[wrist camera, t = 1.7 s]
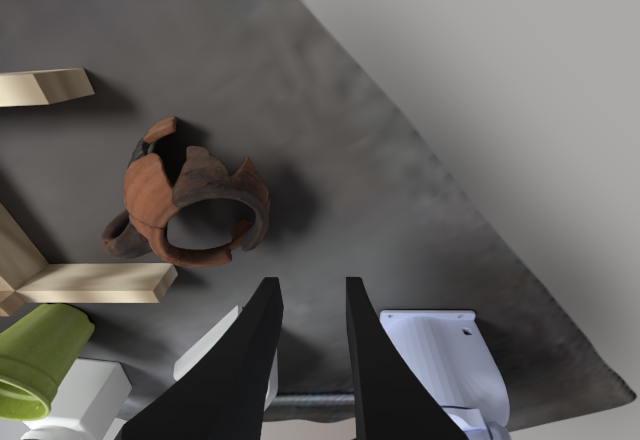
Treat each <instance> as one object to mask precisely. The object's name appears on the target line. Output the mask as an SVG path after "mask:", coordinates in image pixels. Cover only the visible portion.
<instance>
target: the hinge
mask: <svg viewBox="0 0 640 440" xmlns="http://www.w3.org/2000/svg"><path fill="white" fill-rule="evenodd" d="M241 311H242V306H239V305H237V306H236V307H235V308H234V309H233V310H232V311H231V312H230V313H229V314H227V315H226V316H225V317H224V318H223V319H222V320H221V321H220V322H219V323H218V324H217V325H215V326H214V327H213V328H212V329H211V330H210V331H209V332H208V333H207V334H206V335H205V336H203V337H202V338H201V339H200V340H199V341H198V342H197V343H196V344H195V345H194V346H193V347H192V348H190V349H189V350H188V351H187V352H186V353H185V354H184V355H183V356H182V357H181V358H180V359H178V360H177V361H176V362H175V368H174V379H175V380H176V381H178V380H179V379H180V378H181V377H183V376H184V375H185V374H186V373H187V372H188V371H189V370H190V369H191V368H192V367H193V366H194V365H195V364H196V363H197V362H198V361H199V360H200V359H201V358H202V357H203V356H204V355H205V354H206V353H207V352H208V351H209V350H210V349H211V348H212V347H213V346H214V345H215V343H216V342H217V341H218V340H219V339H220V338H221V337H222V335H223V334H224V333H225V332H226V331H227V329H228V328H229V327H230V326H231V324H232V323H233V322H234V321H235V319H236V318H237V317H238V315H239V314H240V313H241ZM277 390H278V371H277V348H276V352H275V356H274V361H273V365H272V369H271V373H270V377H269V382H268V387H267V394H266V400H265V407H264V411H265V410H266V408H267V407H268V406H269V405H270V403H271V402H272V400H273V399H274V397H275V396H276V394H277Z"/></svg>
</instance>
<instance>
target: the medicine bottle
mask: <svg viewBox="0 0 640 440" xmlns="http://www.w3.org/2000/svg"><path fill="white" fill-rule="evenodd" d="M131 390H132V386H131V384H130V382H129V380H128V378H127V376H126V374H125V372H124V370H123V368H122V367H121V365H120V363H119V362H111V361H102V360H93V359H84V358H76V360H75V362H74V363H73V365H72V367H71V368H70V370H69V371H68V373H67V374H66V376H65V378H64V379H63V381H62V382H61V384H60V386H59V387H58V392H57V394H56V396H55V398H54V399H53V401H52V403H51V412H50V413H49V415H48V416H47V417H45V418H43V419H41V420H35V421H23V422H24V423H25V424H26V425H27V426H28V427H30V428H31V429H32V430H31V431H29V432H26V433H25V434H24V435H23V437H22V438H21V439H20V440H102V439H103V438H104V436H105V434H106V432H107V431H108V429H109V427H110V426H111V424H112V422H113V420H114V419H115V417H116V415H117V414H118V412H119V410H120V408H121V407H122V405H123V403H124V402H125V400H126V398H127V396H128V395H129V393H130V391H131Z"/></svg>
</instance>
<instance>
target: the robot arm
mask: <svg viewBox="0 0 640 440" xmlns="http://www.w3.org/2000/svg"><path fill="white" fill-rule="evenodd" d="M283 309H284V306H283V300H282V295H281V290H280V284H279V279H278V277H265V278H264V279H263V280H262V282H261V283H260V285H259V287H258V288H257V290H256V291H255V293H254V294H253V296H252V297H251V299H250V300H249V302H248V303H247V304H246V306H245V307H244V309H243V310H242V311H241V313H240V314H239V315H238V317H237V318H236V319H235V321H234V322H233V323H232V324H231V326H230V327H229V328H228V329H227V331H226V332H225V333H224V334H223V335H222V337H221V338H220V339H219V340H218V341H217V342H216V343H215V345H214V346H213V347H212V348H211V349H210V350H209V351H208V352H207V353H206V354H205V355H204V356H203V357H202V358H201V359H200V360H199V361H198V362H197V363H196V364H195V365H194V366H193V367H192V368H191V369H190V370H189V371H188V372H187V373H186V374H185V375H184V376H183V377H181V378H180V379H179V380H178V381H177V382H176V383H175V384H173V385H172V386H171V387H170V388H169V389H168V390H167V391H165V392H164V393H163V394H162V395H161V396H160V397H158V398H157V399H156V400H155V401H154V402H152V403H151V404H150V405H148V406H147V407H146V408H145V409H143V410H142V411H141V412H139V413H138V414H137V415H136V416H134V417H133V418H132V419H130V420H129V421H128V422H126V423H125V424H124V425H123V426H122V428H121V430H120V431H119V433H118V434H117V436H116V437H115V439H114V440H260V436H261V428H262V421H263V414H264V407H265V400H266V394H267V387H268V382H269V377H270V373H271V369H272V365H273V361H274V356H275V352H276V348H277V344H278V340H279V335H280V331H281V325H282V317H283ZM474 319H475V313H474V312H473V311H459V310H384V311H382V312H381V314H380V320H379V319H378V317H377V315H376V313H375V311H374V309H373V307H372V304H371V302H370V300H369V298H368V295H367V293H366V290H365V287H364V284H363V281H362V278H360V277H346V324H347V336H348V343H349V351H350V359H351V367H352V374H353V383H354V397H355V418H356V440H512V439H511V437H510V434H509V432H508V431H507V429H506V428H504V426H505V425H506V424H507V422H508V419H509V411H510V408H509V400H508V395H507V391H506V387H505V384H504V381H503V379H502V376H501V374H500V372H499V370H498V368H497V366H496V364H495V362H494V360H493V358H492V356H491V354H490V352H489V350H488V348H487V346H486V344H485V342H484V340H483V338H482V336H481V334H480V332H479V330H478V328H477V326H476V324H475V322H474Z"/></svg>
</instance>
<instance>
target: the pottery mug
mask: <svg viewBox="0 0 640 440" xmlns="http://www.w3.org/2000/svg"><path fill="white" fill-rule="evenodd" d="M176 123H177V118H176V117H174V116H171V117H168V118H165V119H163V120H161V121H160V122H158V123H157V124H155V125H154V126H153V127H152V128H151V129H150V130H149V131H148V132H147V133H146V134H145V136H144V137H143V138H142V139H141V140H140V141H139V142H138V145H137V147H136V149H135V151H134V152H133V155H132V158H131V160H130V162H129V165H128V169H127V172H126V175H125V178H124V180H125V183H124V202H125V206H126V209H125V210H124V211H122V212H121V213H120V214H119V215H118V216H116V217H115V218H114V219H113V221H112V222H111V223H110V224H109V225H108V226H107V227H106V229H105V230H104V232H103V234H102V245H103V248H104V249H105V251H106V252H107V253H108V254H109V255H111V256H116V257H118V258H120V259H132V258H137V257H140V256H142V255H144V254H146V253H149V252H151V251H154V252H155V253H156V254H157V255H158V256H159V257H160V258H162V259H163V260H165V261H166V262H169V263H171V264H175V265H177V266H182V267H191V268H203V267H213V266H218V265H222V264H225V263H228V262H230V261H232V255H231V250H233V249H235V248H237V247H239V246H240V245H242V250H243V251H248V250H252V249H254V248H255V247H256V246H257V245H258V244H259V243H260V242H261V241H262V239H263V238H264V236H265V235H266V233H267V230H268V228H269V219H268V218H269V213H268V212H269V209H270V201H271V198H270V196H269V190H268V188H267V186H266V185H265V184H264V182H263V181H262V180H261V178H260V177H259V175H258V173H257V171H256V170H255V167H254V165H253V163H252V161H251V160H250V158H249V157H248V156H246V157H245V158H244V162H243V163H242V165H241V166H240V167H239V168H238V169H237V170H236V171H235V172H234V174H232V175H231V176H230V175H229V174H228V171H227V168H226V166H225V165H224V164H223V163H222V162H221V161H220V160H218V159H217V158H215V157H214V156H212V155H211V154H210V152H209V151H208V150H207V149H206V148H204V147H199V146H189V147H187V149H186V150H187V161H186V162H185V163H184V165H183V167H182V170H181V174H180V176H179V178H178V180H177V182H176V184H175V185H174V186H173V185H172V183H171V182H170V181H169V179H168V177H167V175H166V172H165V168H164V163H163V161H162V159H161V158H160V157H159V156H158V155H157V154H155V153H150V154H148V148H149V146H150V145H151V144H152V143H154V142H155V141H157V140H159V139H160V138H162V137H165V136H167V135H169V134H171V133H174V132H175V131H176ZM215 198H229V199H236V200H239V201H241V202H244V203H245V204H247V205H248V206H250V207H251V208H252V209H253V210H254V211H255V213H256V221H255V222H254V223H250V222H249V221H247V220H246V219H243V220H241V221H240V222H239V223H238V224H236V225H235V227H233V229H232V230H231V236H232V241H231V243H228V244H226V245H223V246H220V247H216V248H211V249H205V250H191V249H183V248H178V247H175V246H173V245H171V244H170V243H169V242H168V239H167V225H168V221H169V220H170V219H171V218H172V217H173V216H174V215H175V214H176V213H177V212H178V211H179V210H180V209H181V208H183V207H186V206H188V205H190V204H193V203H195V202H198V201H201V200H206V199H215Z"/></svg>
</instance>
